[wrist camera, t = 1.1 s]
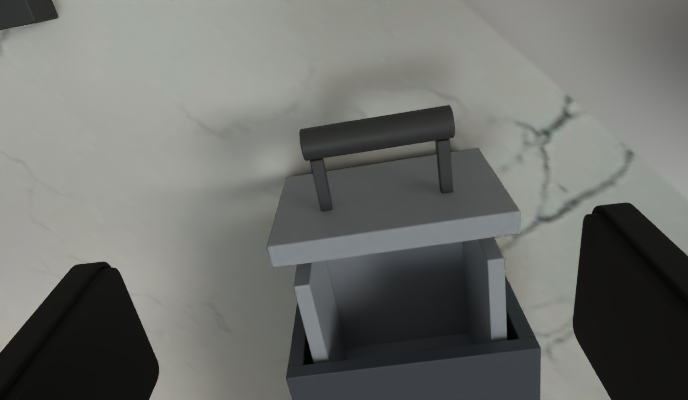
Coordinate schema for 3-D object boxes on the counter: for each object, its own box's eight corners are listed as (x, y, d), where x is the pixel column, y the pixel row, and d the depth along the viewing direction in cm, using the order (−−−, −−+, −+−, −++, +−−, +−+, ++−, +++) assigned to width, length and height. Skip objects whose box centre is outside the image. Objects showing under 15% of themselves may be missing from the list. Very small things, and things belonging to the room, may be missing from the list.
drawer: (268, 108, 27) (241, 161, 21) (474, 73, 27) (519, 117, 20) (327, 347, 35) (321, 444, 28) (487, 327, 34) (523, 422, 27)
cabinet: (301, 268, 33) (285, 378, 25) (489, 243, 32) (541, 347, 24) (339, 417, 40) (336, 545, 31) (497, 399, 39) (539, 526, 30)
